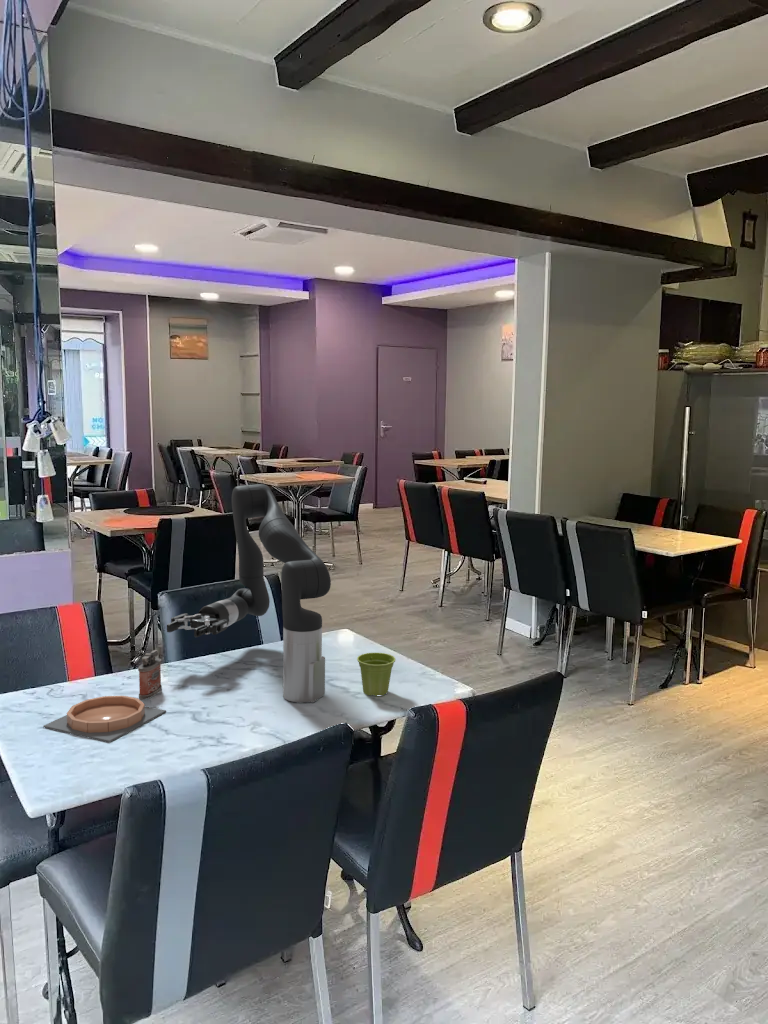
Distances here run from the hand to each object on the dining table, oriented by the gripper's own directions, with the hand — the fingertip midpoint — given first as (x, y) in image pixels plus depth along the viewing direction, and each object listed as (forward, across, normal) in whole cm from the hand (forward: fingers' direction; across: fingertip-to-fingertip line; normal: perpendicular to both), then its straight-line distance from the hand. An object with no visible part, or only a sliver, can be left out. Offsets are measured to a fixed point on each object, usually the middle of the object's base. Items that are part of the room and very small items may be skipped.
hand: (181, 630), depth 195 cm
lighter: (+13, 0, +12) cm, 18 cm away
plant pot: (-11, +49, +12) cm, 52 cm away
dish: (+30, +2, +12) cm, 32 cm away
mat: (+30, +2, +12) cm, 32 cm away
